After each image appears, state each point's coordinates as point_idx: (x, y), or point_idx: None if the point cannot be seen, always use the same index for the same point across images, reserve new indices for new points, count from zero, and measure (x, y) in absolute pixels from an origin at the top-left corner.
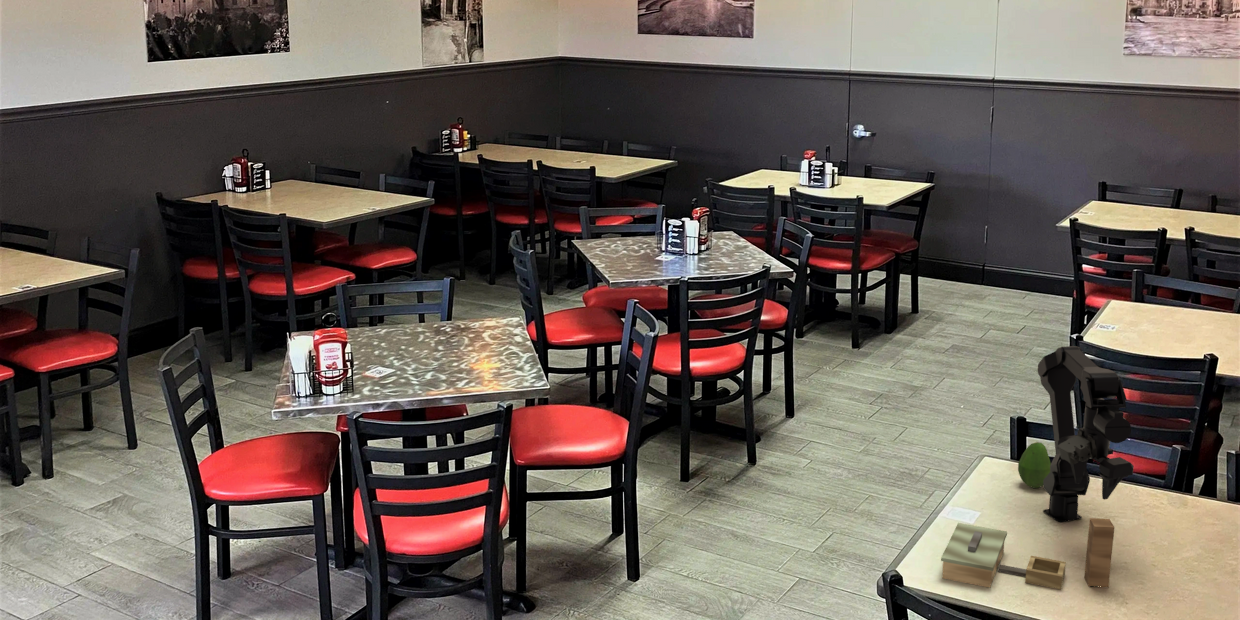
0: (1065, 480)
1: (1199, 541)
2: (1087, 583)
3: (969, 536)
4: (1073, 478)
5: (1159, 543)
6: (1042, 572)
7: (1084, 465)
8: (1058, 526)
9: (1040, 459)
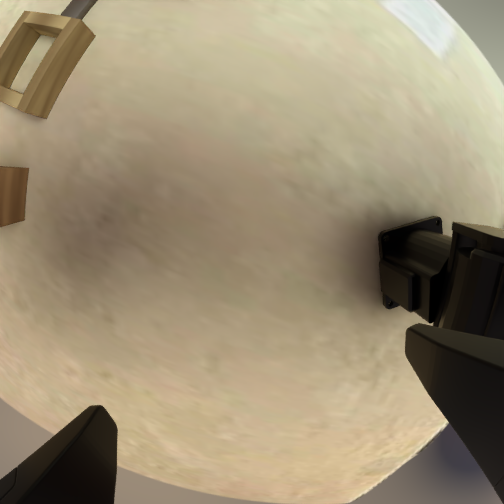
0: (482, 288)
1: (229, 475)
2: (3, 166)
3: None
4: (477, 331)
5: (222, 428)
6: (2, 45)
7: (484, 456)
8: (359, 220)
9: None
